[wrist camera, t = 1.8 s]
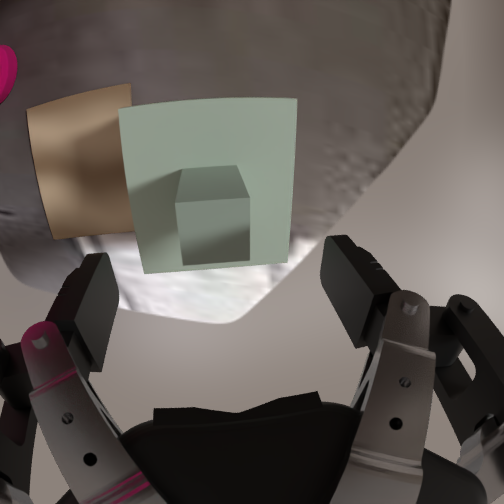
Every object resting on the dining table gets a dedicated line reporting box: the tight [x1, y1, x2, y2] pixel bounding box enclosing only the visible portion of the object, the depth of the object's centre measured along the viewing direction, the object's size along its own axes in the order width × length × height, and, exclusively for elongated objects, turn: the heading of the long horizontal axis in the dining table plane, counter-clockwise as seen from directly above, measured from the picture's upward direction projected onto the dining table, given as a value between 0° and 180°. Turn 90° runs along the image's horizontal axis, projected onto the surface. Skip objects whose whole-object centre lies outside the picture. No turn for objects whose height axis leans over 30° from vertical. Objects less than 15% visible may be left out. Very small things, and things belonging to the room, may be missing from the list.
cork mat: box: [27, 83, 135, 240], centre depth 21 cm, size 13×10×1 cm
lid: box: [118, 97, 297, 274], centre depth 15 cm, size 11×10×7 cm
